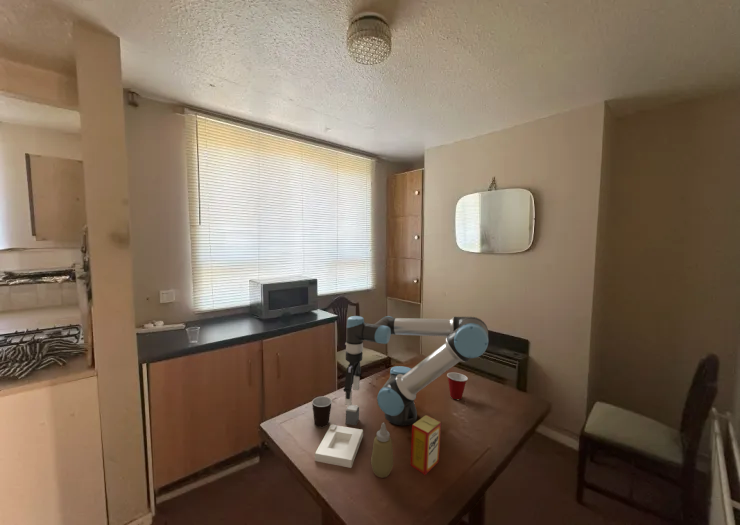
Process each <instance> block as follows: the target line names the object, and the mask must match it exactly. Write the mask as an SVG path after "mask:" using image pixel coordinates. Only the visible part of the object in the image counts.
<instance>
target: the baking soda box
mask: <svg viewBox="0 0 740 525" xmlns="http://www.w3.org/2000/svg"><path fill="white" fill-rule="evenodd" d="M411 426H412V427H411V441H410V442H411V443H410V465H409V466H410V467H412V468H414V469H416V470H417V471H418V472H420V473H421V474H423V475H424V476H426V475H427V474H428V473H429V472H430V471H431V470H432V469H434V467H435V466H436V465H437V464H438V463H439V462H440V455H441V454H440V453H441V452H440V451H441V437H442V436H441V435H442V434H441V432H442V421H440V420H438V419H437V418H434V417H432V416H430V415H428V414H425V415H424V416H423V417H421V418H420V419H417V420H416V421H415V422H414V423H413V424H411Z"/></svg>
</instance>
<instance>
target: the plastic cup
mask: <svg viewBox="0 0 740 525" xmlns="http://www.w3.org/2000/svg"><path fill="white" fill-rule="evenodd" d="M446 377H447V380H448V389H449V390H448V391H449V397H450V396H451V397H452V398H453V399H452V398H451V397H450V398H451V399H452V400H454V399H461V400H462V398H463V394H464V390H465V387H466V384H467V381H468V376H466V375H465V374H462V373H459V372H448V373H447V374H446Z"/></svg>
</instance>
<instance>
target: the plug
mask: <svg viewBox="0 0 740 525" xmlns="http://www.w3.org/2000/svg"><path fill="white" fill-rule="evenodd" d="M359 419H360V406H359V405H357V404H351V406H349V405H347V407H346V410H345V425H351V426H357V425H358V422H359Z"/></svg>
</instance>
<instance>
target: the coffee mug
mask: <svg viewBox="0 0 740 525" xmlns="http://www.w3.org/2000/svg"><path fill="white" fill-rule="evenodd" d="M332 402H333V401H332V399H331V397H328V396H324V395H323V396H317V397H315V398H313V399H312V401H311V403H312V404H311V405H312V412H313V413H312V414H313V423H314V426H315V427H317V428H325V427H327V426H328V425H329V423H330V416H331V410H332V404H333V403H332Z"/></svg>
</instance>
